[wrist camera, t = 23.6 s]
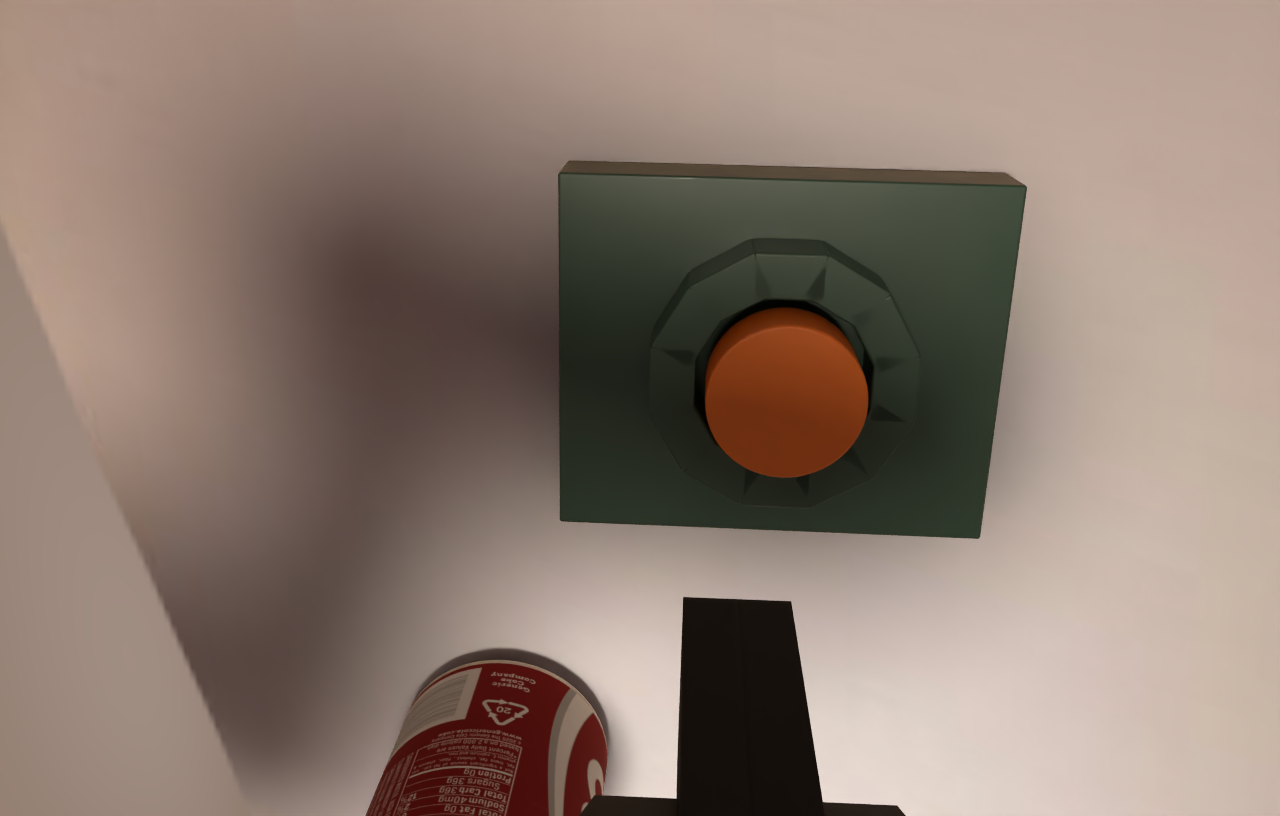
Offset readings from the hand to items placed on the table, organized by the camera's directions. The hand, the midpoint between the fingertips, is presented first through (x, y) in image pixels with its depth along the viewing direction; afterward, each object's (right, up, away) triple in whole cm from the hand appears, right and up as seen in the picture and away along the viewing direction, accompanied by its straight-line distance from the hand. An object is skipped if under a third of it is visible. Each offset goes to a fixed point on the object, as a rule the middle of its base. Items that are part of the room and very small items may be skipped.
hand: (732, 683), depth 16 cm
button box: (+3, +6, +17) cm, 18 cm away
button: (+2, +5, +14) cm, 15 cm away
